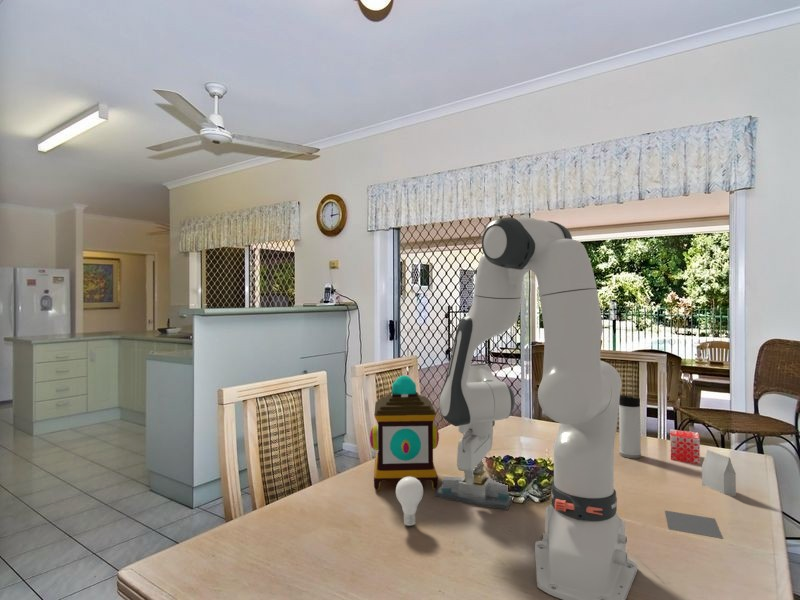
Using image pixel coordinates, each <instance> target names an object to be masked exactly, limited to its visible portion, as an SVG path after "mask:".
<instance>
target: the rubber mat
mask: <svg viewBox="0 0 800 600" xmlns="http://www.w3.org/2000/svg"><path fill="white" fill-rule="evenodd" d="M664 514H665V519H666V522H667V528H668V530H672V531H677V532H681V533H683V532H684V533H688V534H694V535H699V536H705V537H711V538H716V539H721V540H723V539H724V537H723V534H722V533H721V530H720V527H719V525H718V524H717V521H716V520H717V519H716V518H713V517H707V516H700V515H696V514H690V513H688V514H687V513H683V512H677V511H670V510H664Z"/></svg>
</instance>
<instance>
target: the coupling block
mask: <svg viewBox="0 0 800 600" xmlns="http://www.w3.org/2000/svg"><path fill="white" fill-rule="evenodd" d="M473 476H474V483H473V484H477V485H484V483H485V482H486V476H487V471H486V470H484V471H483V470H481V468H479V467H477V466H476V467H475V468H474V471H473ZM465 483H466V476H465Z"/></svg>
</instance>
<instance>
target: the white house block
mask: <svg viewBox="0 0 800 600" xmlns="http://www.w3.org/2000/svg"><path fill="white" fill-rule="evenodd" d="M736 475H737V474H736V470H735V469H734V467H733V463H732V461H731V458H730V457H728V456H725V455H723V454H720V453H717V452H714V451H711V450H709V449H707V450H706V454H705V457H704V459H703V462H702V465H701V486H702V487H707V488H709V489H712V490H715V491H716V492H719V493H720V494H722V495H727V496H729V497H736V496H737V479H736V478H737V477H736Z"/></svg>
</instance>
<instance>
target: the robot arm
mask: <svg viewBox="0 0 800 600" xmlns="http://www.w3.org/2000/svg"><path fill="white" fill-rule="evenodd" d="M481 237H482V238H481V248H482V249H481V250H482V253H483V254H482V255H481V256H480V258H479V260H478V266H477V268H476V269H477V270H476V274H475V282H474V287H473V289H474V290H473V300H472V304H471V306H470V308H469V311H468V313H467V314H466V316H464V317H462V318H461V320H460V321H459V323H458V326H457V328H456V331H455V335H454V338H453V344H452V348H451V353H450V357H449V362H448V366H447V371H446V374H445V375H446V376H445V380H444V383H443V385H442V387H441V390H440V394H439V401H438V408H439V412H440V415H441V417H443V419H445V421H447V422H448V423H449V424H450V425H452V426H454V427H458V432H459V433H460V434H462V437H461V438H460V439H459V441H458V442H457V443H458V444H457V454H456V455H457V456H456V460H457V461H456V463H457V464H456V466H457V469H458V471H460V472H461V471H462V472H464V475H465V476H466V483H467V484H468V485H473V483H474V476H473V471H474V468H475V467H479V468H481V470H483V471H486V470H485V468H484V464H483V462H482V459H483V458H484V457H486V458H487V455H488V454H489V453H490V451H491V450H492V446H493V438H494V437H493V435H494V427H495V424H496V421H503V420H505V419H506V420H507V419H508V418H510V416H511V415H512V413H513V411H514V409H515V403H516V402H515V394H514V391H513V389H512V388H511V387H510V385H508V383H506V382H505V381H502V380H500V379H498V378H497V377H496V376H495V375H494V374H493V373H492V370H491V368H490V365H488V364H486V363H472V360H473V356H474V353H475V351H476V350H477V349H478V348H479V346H480V345H481V344H483V343H484V342H486V341H487V340H490V339H492V338H494V337H496V336H498V335H501V334H503V333H505V332H507V331H508V330H510V329H511V328H512V327H513V326H514V325H515V324H516V323H517V321H518V320H519V316H520V312H521V307H522V306H521V302H522V285H523V279H524V277H525V275H526V274H527V273H528V272H530V271H532V272H533V274H534V275H535V277H536V280H537V286H538V287H537V288H538V294H539V302H540V308H541V315H542V323H543V332H544V333H543V335H544V345H543V346H544V350H543V364H542V378H541V381H540V384H539V387H538V390H537V399H538V404H539V406H540V408H541V410H542V411H543V413H544V414H545V415H546V416H547V417H548V418H549V419H551V421H554V422H556V423H558V424H559V427H558V430H557V435H556V437H555V440H554V443H553V481H552V482H551V490H550V495H551V503H550V505H548V506H547V507H545V533H544V532H543V533H542V534H541V539H542V540H538V541H535V543H534V556H535V557H534V558H535V560H534V561H535V573H536V575H535V576H536V586H537V588H539V590H541V591H543V592H544V593H546V594H548V595H550V596H553V597H555V598H557V599H561V600H626V599H627V597H628V595H629V593H630V590H631V588H632V585H633V584H634V580H635V577H636V576H637V572H638V570H639V569H638V564H637V563H636V561H634V560H633V559H631V558H629V557H628V552H627V541H628V539H627V535H626V524H625V521H624V520H623V519H622V518H621V517H620V516H619V515H618V513H617V511H618V509H617V507H618V506H617V505H618V498H617V491H616V489H615V485H614V483H615V482H614V481H615V480H614V479H615V478H614V477H615V475H614V471H615V470H614V469H615V468H614V461H615V460H614V455H615V453H614V452H615V450H614V449H615V441H616V440H615V439H616V434H617V428H618V421H619V399H620V395H621V392H622V388H623V385H622V384H623V383H622V377H621V375H620V374H619V371H618V370H617V369H616V368H615V367H614V366H613V365H611V364H610V363H608V362H606V361H603V360H601V349H602V348H601V345H602V335H603V333H604V332H603V331H604V330H603V329H604V325H603V319H602V313H601V306H600V301H599V294H598V289H597V282H596V277H595V275H594V269H593V266H592V263H591V260H590V257H589V255H588V252H587V249H586V248H585V246H584V244H583V243H582V242H580V241H578V240H577V239H573V237H572V234H571V233H570V230H569V229H567V227H565V225H562V224H561V223H558V222H555V221H551V220H547V221H546V220H542V219H537V218H533V217H511V216H506V217H501V218H498V219H495V220H493V221H491V222H490V223H488V224H487V226H486V227H485V228H484V231H483V234H482V236H481Z"/></svg>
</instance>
